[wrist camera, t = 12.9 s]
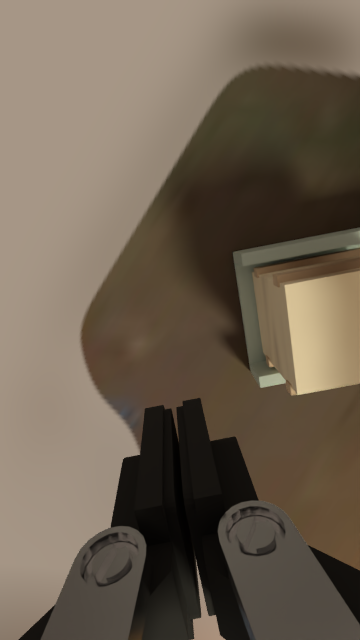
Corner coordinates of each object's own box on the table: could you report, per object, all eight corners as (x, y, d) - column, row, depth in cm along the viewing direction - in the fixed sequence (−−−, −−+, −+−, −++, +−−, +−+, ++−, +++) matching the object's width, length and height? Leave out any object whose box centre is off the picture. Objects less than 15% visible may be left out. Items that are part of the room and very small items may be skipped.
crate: (352, 246, 24) (427, 249, 17) (359, 339, 25) (429, 377, 18) (249, 266, 24) (281, 277, 17) (262, 358, 25) (296, 402, 18)
